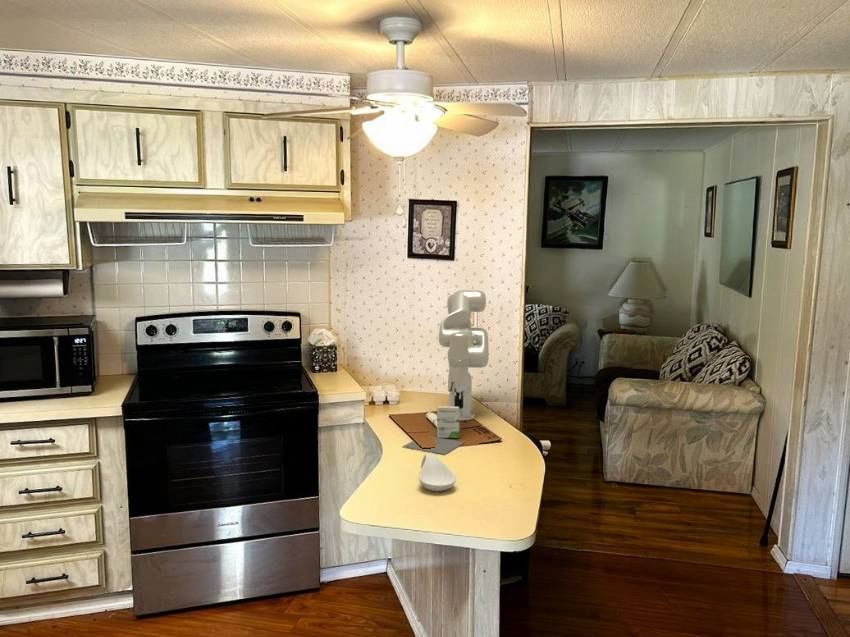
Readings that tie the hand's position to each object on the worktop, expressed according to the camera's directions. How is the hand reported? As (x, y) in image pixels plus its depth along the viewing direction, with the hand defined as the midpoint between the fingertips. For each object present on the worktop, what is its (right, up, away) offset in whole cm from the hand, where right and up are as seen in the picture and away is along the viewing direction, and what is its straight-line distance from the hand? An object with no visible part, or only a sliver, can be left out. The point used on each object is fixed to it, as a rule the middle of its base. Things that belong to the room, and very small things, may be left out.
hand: (458, 407), depth 276 cm
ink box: (-5, -11, -6) cm, 13 cm away
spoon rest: (-11, -17, -53) cm, 56 cm away
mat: (-10, -12, -16) cm, 23 cm away
